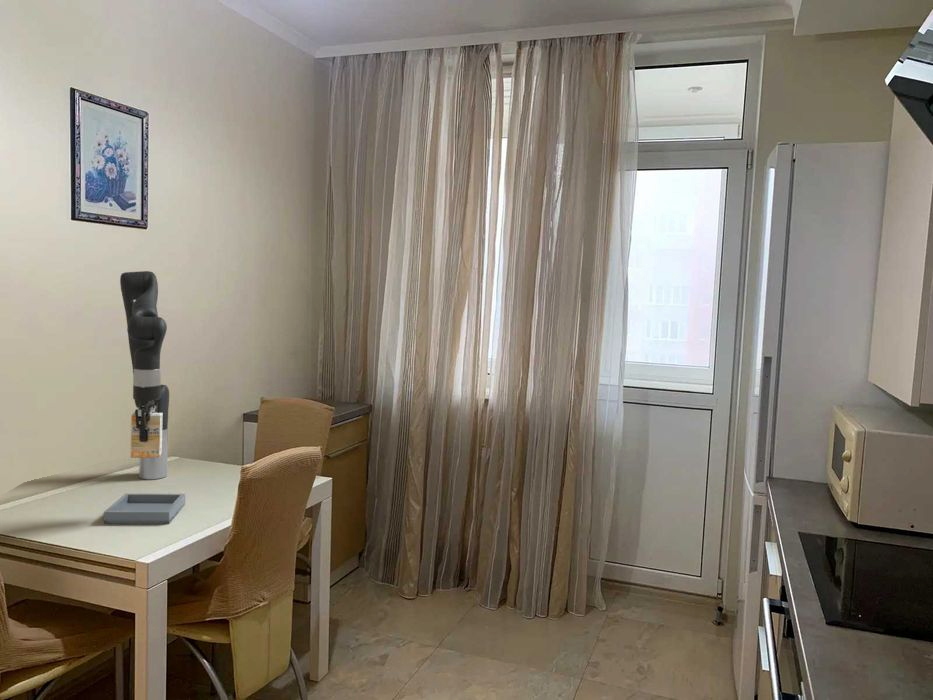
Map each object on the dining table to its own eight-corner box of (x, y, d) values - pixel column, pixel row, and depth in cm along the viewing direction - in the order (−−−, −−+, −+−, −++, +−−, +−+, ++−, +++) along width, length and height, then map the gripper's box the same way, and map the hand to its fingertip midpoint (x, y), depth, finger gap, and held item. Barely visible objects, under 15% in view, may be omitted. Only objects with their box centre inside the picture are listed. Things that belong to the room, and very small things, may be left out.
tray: (125, 504, 223) (125, 493, 222) (185, 504, 225) (185, 493, 225) (104, 523, 205) (104, 512, 204) (169, 523, 207) (169, 512, 207)
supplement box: (130, 458, 210) (130, 415, 209) (133, 454, 214) (133, 412, 213) (160, 458, 212) (160, 414, 211) (162, 454, 217) (162, 411, 215)
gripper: (141, 379, 218) (141, 433, 219) (125, 386, 204) (125, 444, 205) (167, 380, 219) (166, 434, 220) (152, 387, 205) (152, 445, 206)
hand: (146, 439), depth 213 cm, fingers closed on supplement box, 5 cm apart
